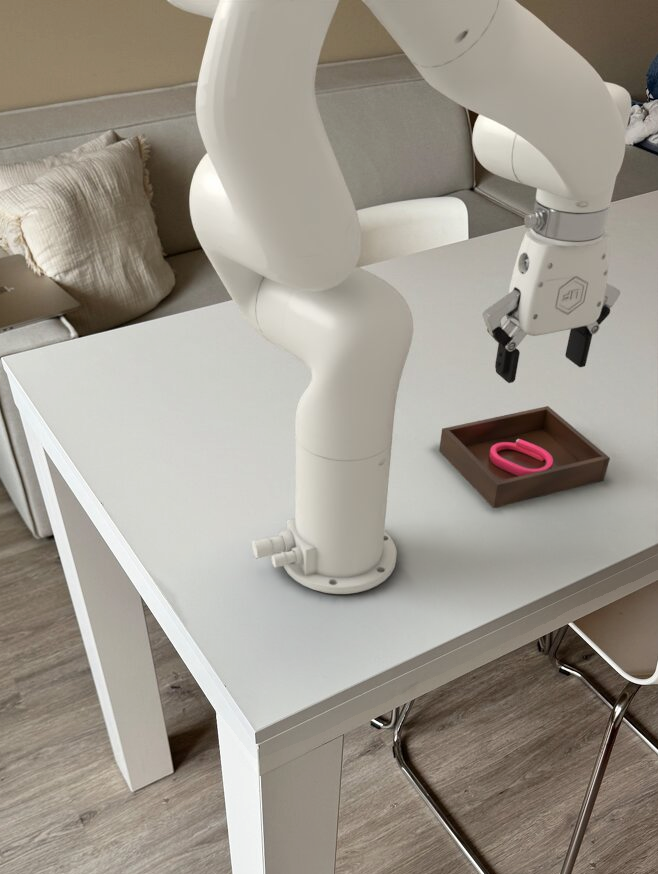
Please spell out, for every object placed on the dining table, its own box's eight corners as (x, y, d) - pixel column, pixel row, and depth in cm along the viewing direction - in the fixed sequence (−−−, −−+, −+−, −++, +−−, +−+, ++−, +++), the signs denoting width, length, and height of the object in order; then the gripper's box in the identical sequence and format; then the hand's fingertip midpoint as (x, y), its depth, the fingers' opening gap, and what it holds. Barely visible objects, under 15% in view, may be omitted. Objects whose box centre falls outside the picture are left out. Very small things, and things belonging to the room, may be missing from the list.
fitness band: (560, 465, 112) (562, 455, 111) (537, 485, 108) (539, 475, 107) (504, 442, 115) (506, 432, 114) (480, 461, 112) (482, 450, 111)
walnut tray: (493, 508, 105) (497, 485, 103) (438, 450, 114) (441, 428, 112) (603, 480, 110) (610, 457, 108) (543, 427, 119) (548, 405, 117)
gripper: (517, 244, 87) (493, 399, 99) (659, 220, 92) (620, 370, 104) (478, 218, 92) (459, 368, 104) (615, 197, 97) (582, 343, 109)
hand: (540, 369), depth 104 cm, fingers open, 9 cm apart
